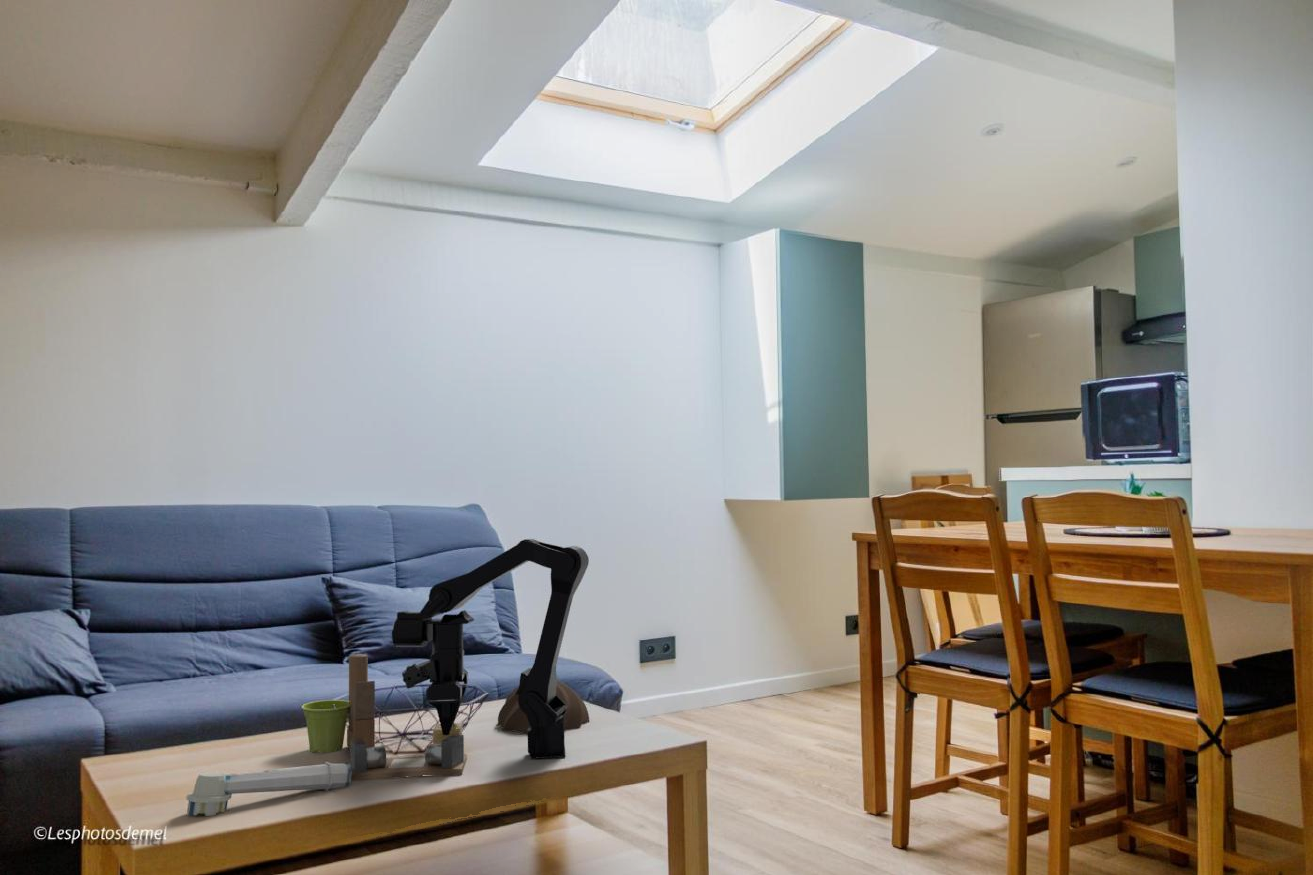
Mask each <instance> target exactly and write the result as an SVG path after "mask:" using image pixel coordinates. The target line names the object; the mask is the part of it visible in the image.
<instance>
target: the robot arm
mask: <svg viewBox="0 0 1313 875" xmlns="http://www.w3.org/2000/svg"><path fill="white" fill-rule="evenodd" d="M528 562H531V563H534V564H536V565H539V566H541V567H543V568H547V569H550V586H551V587H550V590H551V594H550V597H549V602H548V605H547V610H546V614H545V618H544V622H543V626H542V630H541V632H540V633H541V635H540V638H539V642H538V646H537V651H536V655H535V657H534V662H533V665H532V667H529V668H527V669H526V670H524V671H523V672H521V673H520V677H519V685H518V686H519V688H518V690H517V692H516V693H515V694H516V695H518V694H519V696H518V706H519V707H520V709H521V710H522V711H523V712H524V713H525V714H526V716H527V719H528V722H529V724H530V726H531V728H528V733H527V753H528V754H529V756H530V759H547V758H548V759H551V758H552V759H553V758H554V759H555V758H565V757H566V747H565V742H566V741H565V730H564V718H562V717H563V716H565V713H566V710H567V707H568V706H567V705H566V704H565V703H564V702H563V701H562V700H561V699H560V698H559V697H558V696H557V694H556V686H557V680H558V676H557V663H558V659H559V655H560V651H561V647H562V642H563V638H564V635H565V630H566V626H567V622H568V619H569V615H570V610H571V606H572V602H573V598H574V595H575V593H576V591H577V590H578V589H579V588H578V587H579V586H580V584H581V582H582V581H583V578H584V575H585V573H586V571H587V569H588V566H589V564H590V563H589V562H590V559H589V556H588V554H587V552H586V550H584V549H583V548H582V547H580V546H577V545H572V546H565V547H563V546H559V545H555V544H552V543H551V544H550V543H547V542H542V541H539V540H537V539H534V538H527V539H526V538H525V539H522V540H520V541H519V542H518V543H517V544H516V545H515V546H513V547H511V548H509V549H507V550H505V551H504V552H503V553H501V554H499V555H497V556H495V557H494V558H492V559H491V560H489V561H486V562H485V563H483V564H482V565H480V566H478V567H476V568H474V569H473V570H471V571H470V572H467V573H464V574H462V575H459V576H456V577H453V578H452V577H451V578H450V579H447V580H444V581H442V582H441V581H440V582H438V583H436V584H434V585H433V586H432V587H431V588H430V590H429V594H428V600H427V602H426V603H425V604H424V606H423V607H422V609H421V610H420V611H408V610H401V611H398V612H397V613H396V619H395V621H394V622H393V623H394V624H393V629H392V630H391V639H392V643H393V646H395V647H396V648H399V647H400V648H426V647H427V646H428V644H429V642H432V653H431V655H429V659H428V660H427V661H424V662H421V663H419V664H416V663H413V664H412V665H408V666H407V667H406V669H404V670H403V671H402V672H401V675H402V681H403V682H404V683H405V686H406V689H407V690H409V689H412V688H414V687H415V686H416V685H419V684H422V683H424V682H426V681H428V680H429V683H430V685H428V687H427V688H426V691H425V699H426V700H425V701H426V702H427V704H429V705H431V706H432V707H434V708H435V709H436V712H437V717H438V720H439V724H440V725H441V729H442V733H443V735H449V733H450V730H451V727H452V724H453V723H455V722H456V719H457V715H458V712H459V710H460V707H461V704H462V702H463V699H464V696H465V693H466V691H467V687H468V683H469V672H468V670H466V669H465V668H464V656H465V650H464V625H466V624H467V625H468V624H470V623H473V622H474V621H475V619H474V617H472V616H471V615H470V614H469V613H468V612H467V610H465V609H464V610H461V611H459V613H458V614H451V613H450V614H445V613H449V612H452V611H455V610H458V609H460V608H462V607H463V606H464V605H465V604H467V603H468V602H469V601H470V600H471V599H473V597H474V596H476V595H477V594H478V592H480V590H482V589H483V588H485V587H486V586H488V585H490V584H491V583H493V582H494V581H496V580H499V579H500V578H502V577H503V576H505V575H507V574H509V573H510V572H512V571H514V570H515V569H517V568H519V567H521V566H522V565H525V564H526V563H528ZM442 614H444V615H443V616H442V617H441V618H440V619H438V618H437V619H433V618H434V617H438V616H441V615H442ZM461 683H463V684H461Z"/></svg>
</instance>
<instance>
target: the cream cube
mask: <svg viewBox="0 0 1313 875" xmlns="http://www.w3.org/2000/svg"><path fill="white" fill-rule="evenodd" d="M452 735H463V723H462V722H458V723H457V722H456V723H455V722H454V723H453V724H452V727H451V730H450V733H449V735H443V733H442V729H441V725H440V723H438V724H436V723H435V726H434V727H433V729H432V744H441V741H442V740H444V739H446V738H448V737H450V736H452Z"/></svg>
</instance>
